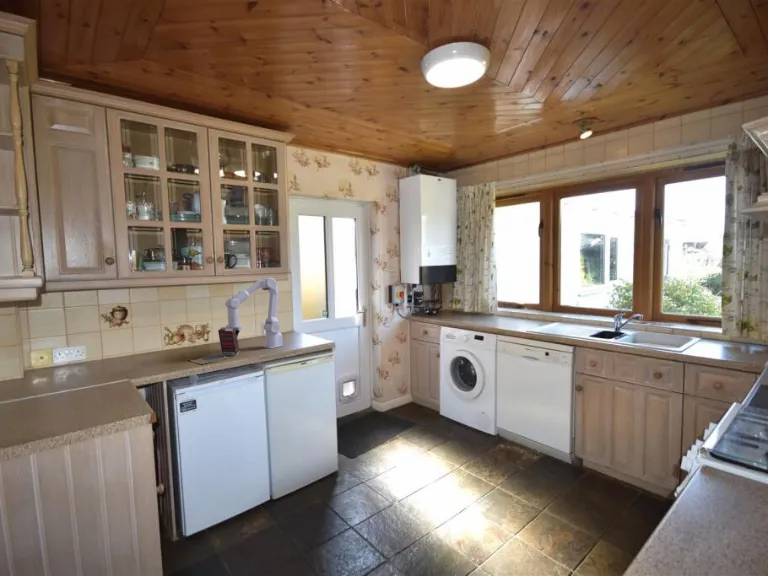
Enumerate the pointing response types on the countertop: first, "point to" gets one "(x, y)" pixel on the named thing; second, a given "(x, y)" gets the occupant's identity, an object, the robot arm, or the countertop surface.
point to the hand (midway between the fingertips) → (234, 341)
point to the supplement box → (228, 341)
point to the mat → (214, 357)
